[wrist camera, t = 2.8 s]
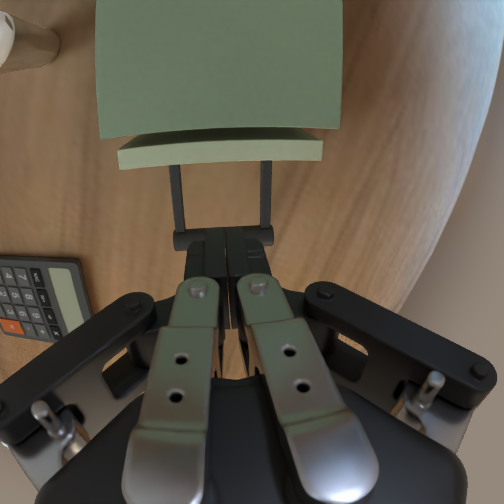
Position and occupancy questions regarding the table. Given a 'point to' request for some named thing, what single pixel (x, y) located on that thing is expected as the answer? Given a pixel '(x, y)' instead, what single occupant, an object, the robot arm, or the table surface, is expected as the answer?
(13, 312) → the calculator
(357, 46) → the table surface
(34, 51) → the milkshake
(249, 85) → the cabinet
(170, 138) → the drawer
